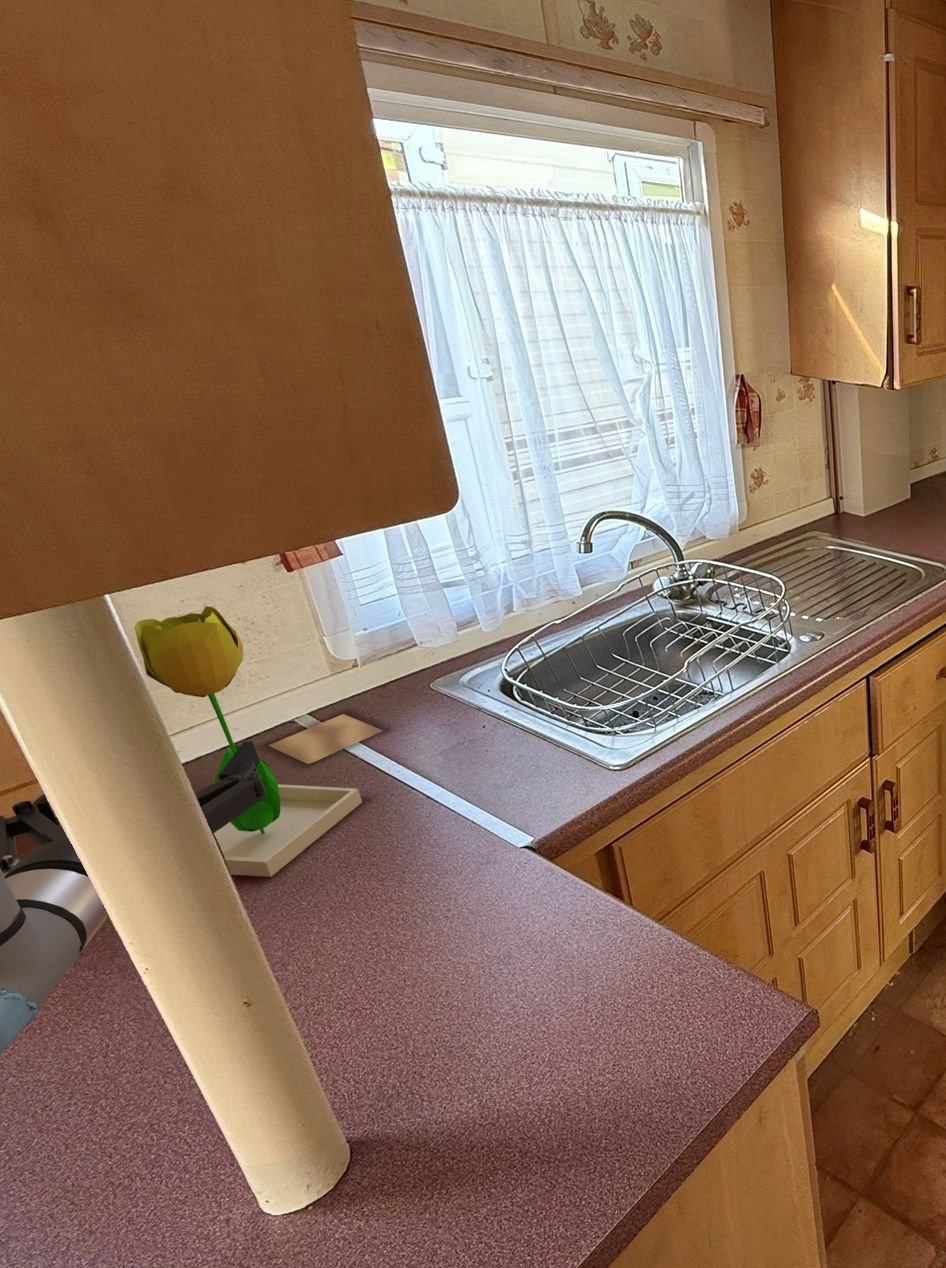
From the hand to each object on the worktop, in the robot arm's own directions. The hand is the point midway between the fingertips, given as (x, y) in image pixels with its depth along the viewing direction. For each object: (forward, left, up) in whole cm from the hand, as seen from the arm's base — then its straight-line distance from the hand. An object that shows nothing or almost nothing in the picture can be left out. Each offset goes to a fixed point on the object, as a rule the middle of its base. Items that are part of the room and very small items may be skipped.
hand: (170, 764), depth 89 cm
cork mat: (-14, +31, -18) cm, 39 cm away
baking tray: (-5, +10, -18) cm, 22 cm away
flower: (-5, +10, -18) cm, 21 cm away
